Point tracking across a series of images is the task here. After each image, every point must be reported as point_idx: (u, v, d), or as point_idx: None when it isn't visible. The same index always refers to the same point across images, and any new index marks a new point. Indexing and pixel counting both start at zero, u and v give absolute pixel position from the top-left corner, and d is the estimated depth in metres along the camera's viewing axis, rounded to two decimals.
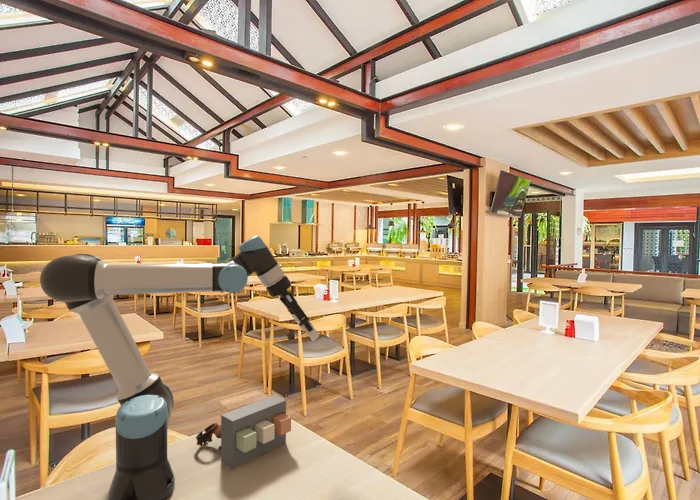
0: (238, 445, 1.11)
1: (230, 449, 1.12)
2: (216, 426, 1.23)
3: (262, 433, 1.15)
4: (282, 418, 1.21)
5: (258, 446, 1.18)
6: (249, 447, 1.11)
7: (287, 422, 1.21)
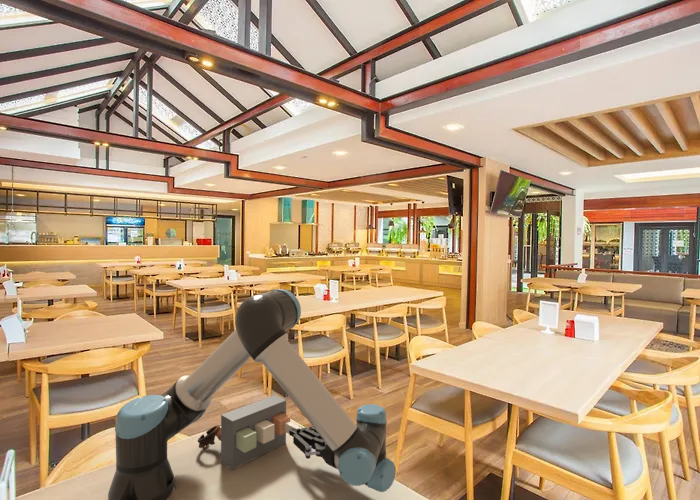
0: (238, 445, 1.11)
1: (230, 449, 1.12)
2: (218, 428, 1.21)
3: (262, 433, 1.15)
4: (281, 418, 1.22)
5: (258, 446, 1.18)
6: (249, 447, 1.11)
7: None
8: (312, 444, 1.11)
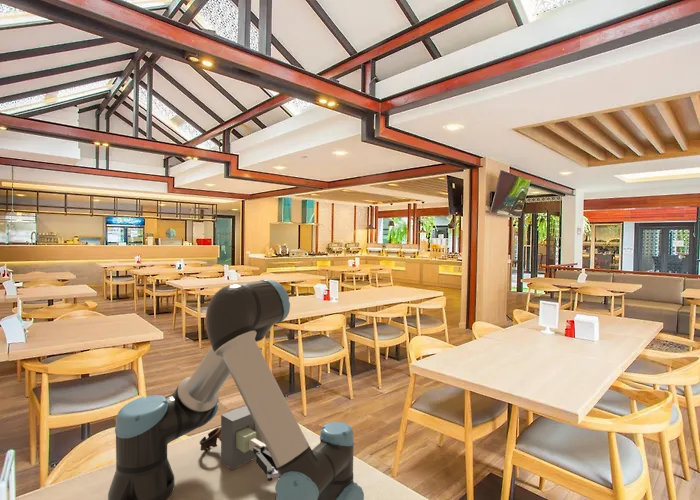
0: (238, 445, 1.12)
1: (230, 449, 1.12)
2: (220, 431, 1.20)
3: None
4: None
5: None
6: (248, 447, 1.11)
7: None
8: (276, 464, 1.01)
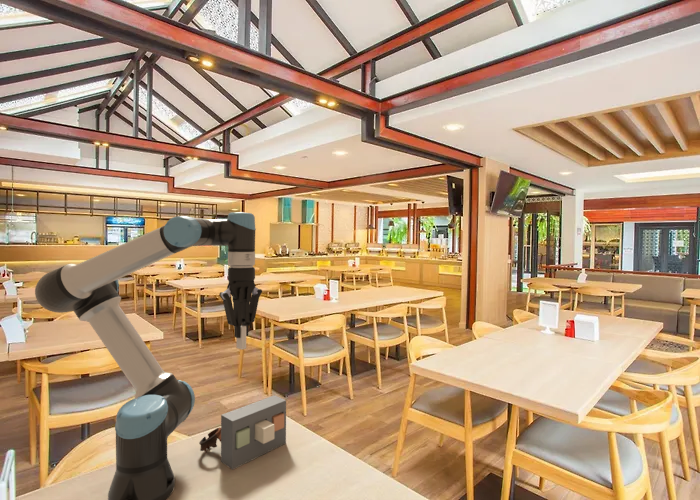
0: None
1: (230, 449, 1.12)
2: (220, 431, 1.20)
3: (262, 433, 1.15)
4: (275, 415, 1.23)
5: (258, 446, 1.18)
6: (242, 443, 1.13)
7: (280, 419, 1.23)
8: (235, 301, 1.11)
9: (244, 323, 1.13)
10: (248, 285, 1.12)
